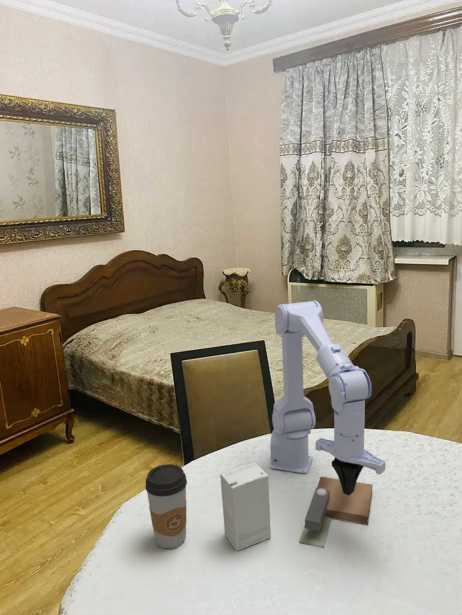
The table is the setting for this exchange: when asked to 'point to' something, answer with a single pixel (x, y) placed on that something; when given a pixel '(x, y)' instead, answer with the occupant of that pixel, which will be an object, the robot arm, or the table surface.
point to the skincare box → (246, 505)
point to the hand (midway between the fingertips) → (348, 492)
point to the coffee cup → (167, 504)
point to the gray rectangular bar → (317, 509)
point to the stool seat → (340, 509)
